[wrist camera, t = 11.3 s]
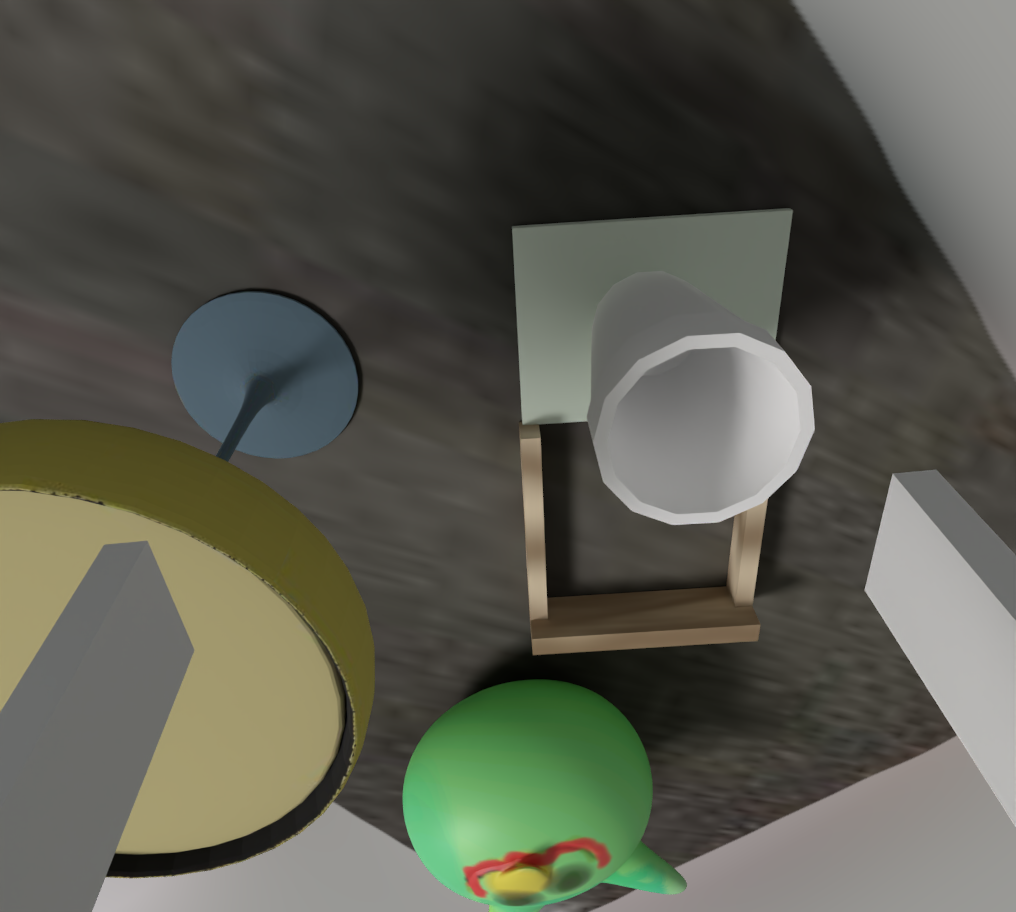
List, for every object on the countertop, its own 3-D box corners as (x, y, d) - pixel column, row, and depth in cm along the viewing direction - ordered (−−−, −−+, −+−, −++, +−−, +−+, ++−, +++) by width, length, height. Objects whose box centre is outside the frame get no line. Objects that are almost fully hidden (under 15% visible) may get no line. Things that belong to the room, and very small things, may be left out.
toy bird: (592, 609, 56) (625, 788, 43) (664, 746, 64) (709, 930, 51) (374, 685, 59) (346, 872, 46) (469, 806, 67) (467, 994, 54)
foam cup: (538, 364, 45) (557, 485, 34) (609, 216, 41) (658, 298, 29) (679, 417, 47) (741, 548, 36) (761, 282, 43) (859, 382, 32)
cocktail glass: (419, 232, 41) (353, 487, 20) (420, 508, 50) (375, 884, 29) (74, 216, 40) (-388, 464, 19) (139, 499, 49) (-120, 883, 28)
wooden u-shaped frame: (518, 421, 47) (521, 454, 44) (766, 405, 47) (789, 437, 44) (529, 614, 56) (532, 655, 52) (740, 601, 56) (757, 640, 52)
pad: (511, 226, 41) (512, 228, 41) (789, 208, 41) (792, 210, 41) (522, 421, 47) (522, 425, 47) (763, 405, 47) (766, 409, 47)
